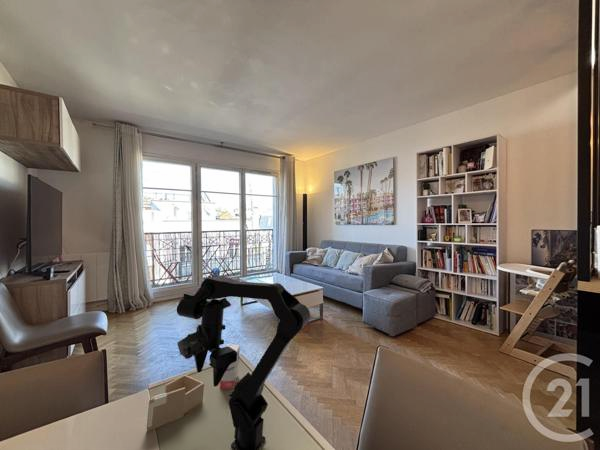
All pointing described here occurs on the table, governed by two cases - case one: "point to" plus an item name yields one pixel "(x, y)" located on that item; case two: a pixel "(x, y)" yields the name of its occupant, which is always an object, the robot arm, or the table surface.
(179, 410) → the end flap
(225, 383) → the ink box
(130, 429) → the table surface
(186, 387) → the carton
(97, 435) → the table surface
